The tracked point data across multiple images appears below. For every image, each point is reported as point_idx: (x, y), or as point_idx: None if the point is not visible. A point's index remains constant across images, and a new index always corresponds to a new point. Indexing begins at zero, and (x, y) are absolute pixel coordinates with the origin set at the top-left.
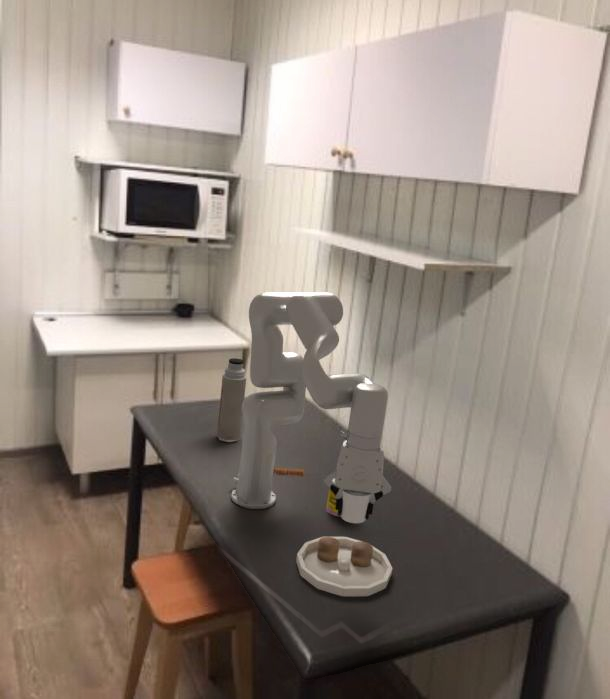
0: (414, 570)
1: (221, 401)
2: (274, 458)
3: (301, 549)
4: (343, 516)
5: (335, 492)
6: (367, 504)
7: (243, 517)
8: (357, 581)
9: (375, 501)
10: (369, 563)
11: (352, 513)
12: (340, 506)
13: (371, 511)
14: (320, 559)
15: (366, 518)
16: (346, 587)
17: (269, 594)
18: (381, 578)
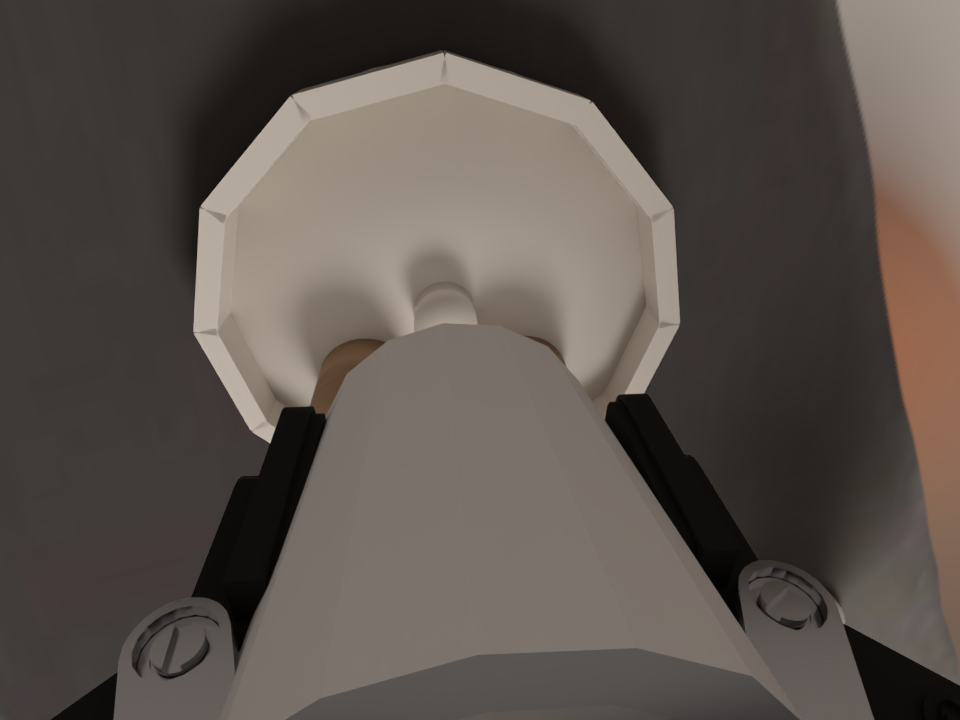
0: (117, 396)
1: None
2: None
3: (654, 363)
4: (581, 387)
5: (859, 661)
6: (280, 559)
7: (816, 535)
8: (369, 217)
9: (124, 644)
10: (323, 365)
11: (501, 384)
12: (673, 470)
13: (240, 501)
14: (552, 346)
15: (306, 407)
16: (427, 69)
17: (824, 10)
18: (251, 274)
